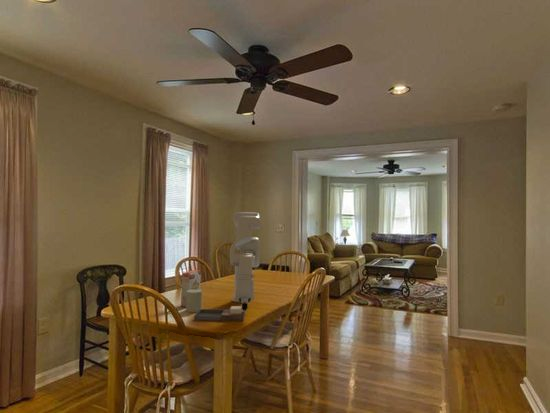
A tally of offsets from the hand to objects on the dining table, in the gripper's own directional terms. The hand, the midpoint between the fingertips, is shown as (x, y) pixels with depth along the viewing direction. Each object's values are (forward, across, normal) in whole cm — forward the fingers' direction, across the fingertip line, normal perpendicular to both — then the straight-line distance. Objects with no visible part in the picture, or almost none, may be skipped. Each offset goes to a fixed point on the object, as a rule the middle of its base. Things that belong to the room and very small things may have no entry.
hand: (244, 310), depth 191 cm
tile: (+1, +5, 0) cm, 5 cm away
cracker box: (+4, +36, -27) cm, 45 cm away
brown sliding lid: (+4, +6, 0) cm, 7 cm away
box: (+4, +19, 0) cm, 20 cm away
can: (+4, +31, -14) cm, 34 cm away
